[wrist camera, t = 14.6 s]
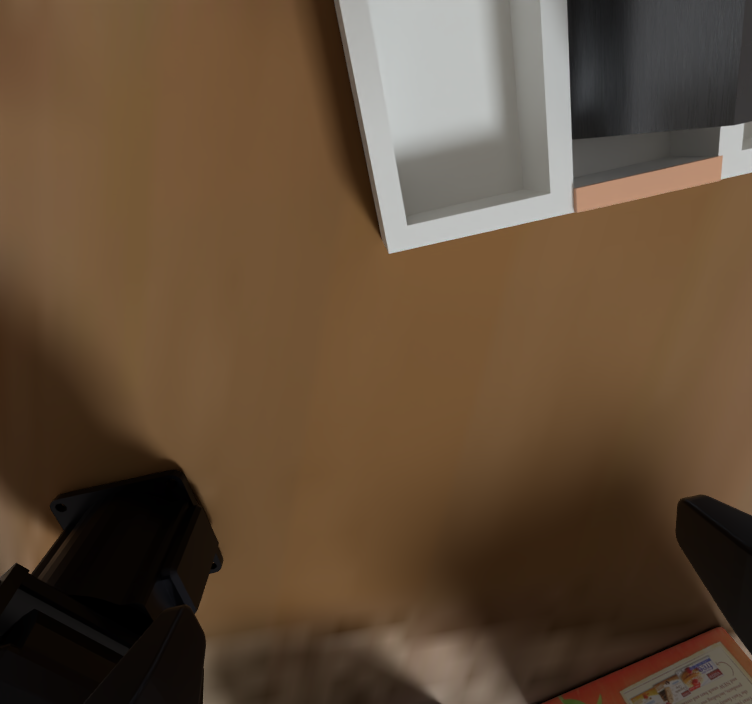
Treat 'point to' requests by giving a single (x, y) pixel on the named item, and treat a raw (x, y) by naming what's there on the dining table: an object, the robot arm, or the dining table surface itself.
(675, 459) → the dining table surface
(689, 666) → the cracker box
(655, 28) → the panel
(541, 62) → the slot rack
